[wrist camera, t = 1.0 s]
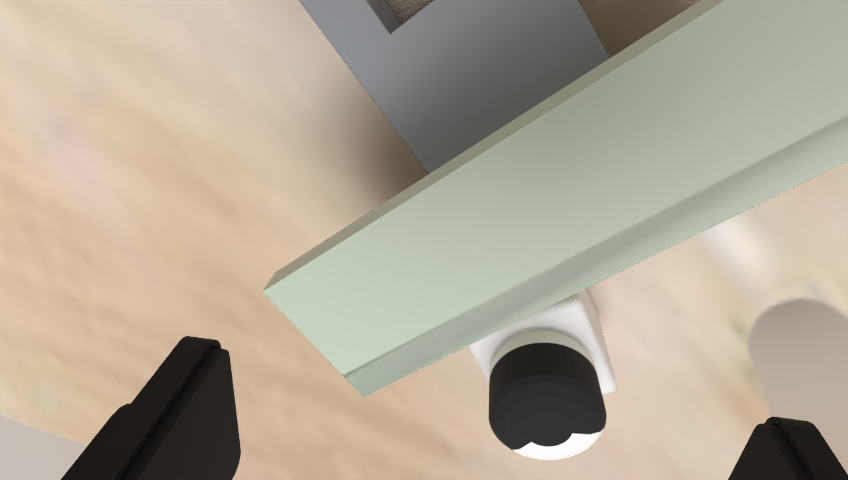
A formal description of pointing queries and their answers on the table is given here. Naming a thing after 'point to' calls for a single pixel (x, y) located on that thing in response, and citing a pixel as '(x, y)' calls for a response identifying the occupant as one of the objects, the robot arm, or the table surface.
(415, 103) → the socket
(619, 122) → the pale green rectangular block
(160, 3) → the table surface
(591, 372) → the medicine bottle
